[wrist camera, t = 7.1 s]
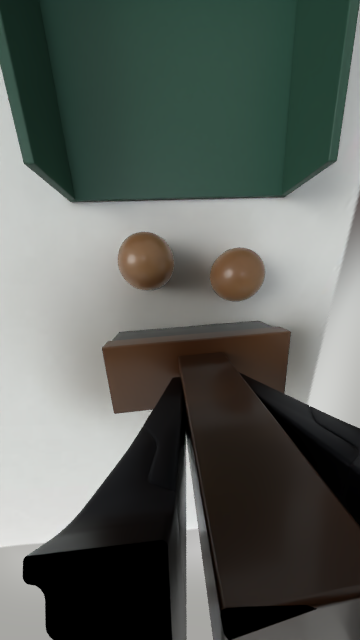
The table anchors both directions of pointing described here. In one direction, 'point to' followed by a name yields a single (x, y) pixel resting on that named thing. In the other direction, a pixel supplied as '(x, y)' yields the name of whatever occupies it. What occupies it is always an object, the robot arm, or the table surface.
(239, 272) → the brown ball
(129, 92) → the dustpan
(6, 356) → the table surface
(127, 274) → the brown egg
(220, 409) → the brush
